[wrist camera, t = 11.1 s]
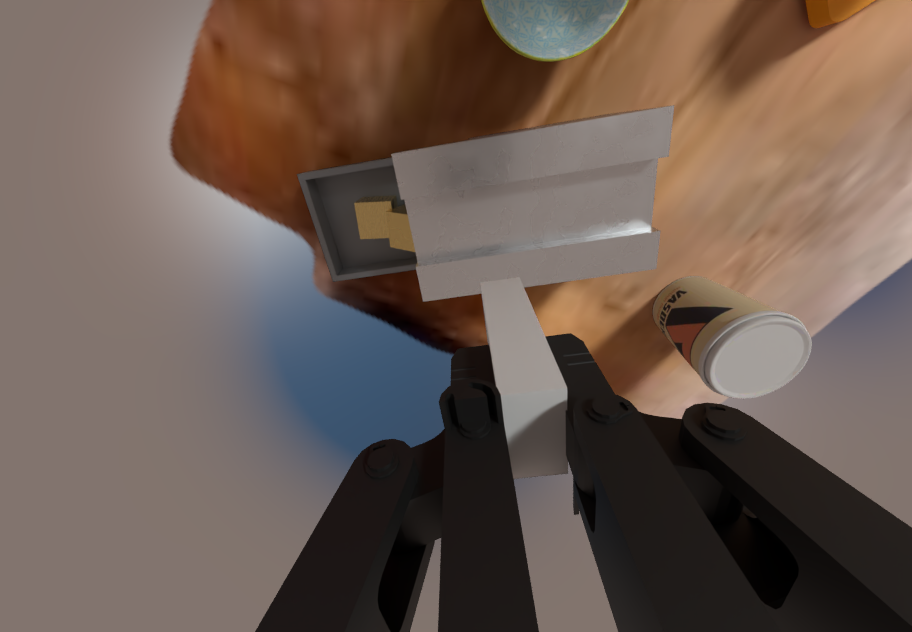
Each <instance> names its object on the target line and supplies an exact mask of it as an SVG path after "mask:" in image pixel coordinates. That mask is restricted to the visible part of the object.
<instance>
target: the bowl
mask: <svg viewBox="0 0 912 632" xmlns="http://www.w3.org/2000/svg"><path fill="white" fill-rule="evenodd" d="M628 1H629V0H481V2H482V5H483V8H484V11H485V14H486V16H487V18H488V20H489V22H490V24H491V26H492V28H493V29H494V31H495V32H496V34H497V35H498V36H499V37H500V39H501V40H502V41H503V42H504V43H505V44H506V45H507V46H508V47H509V48H511V49H512V50H513V51H515V52H516V53H518V54H520V55H522V56H524V57H527V58H530V59H533V60H537V61H548V62H552V61H560V60H565V59H569V58H572V57H575V56H577V55H579V54H581V53H583V52H585V51H587V50H588V49H590V48H591V47H592V46H594V45H595V44H596V43H598V42H599V41H600V40H601V39H602V38H603V37H604V36H605V35H606V34H607V33H608V32H609V31H610V29H611V28H612V27H613V26H614V24H615V23H616V22H617V20H618V19H619V17H620V16H621V14H622V13H623V11H624V9H625V8H626V6H627V4H628Z"/></svg>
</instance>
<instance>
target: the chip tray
mask: <svg viewBox="0 0 912 632" xmlns="http://www.w3.org/2000/svg"><path fill="white" fill-rule="evenodd" d="M297 176H298V179H299V182H300V185H301V188H302V191H303V194H304V197H305V200H306V203H307V206H308V209H309V212H310V215H311V218H312V221H313V224H314V227H315V229H316V232H317V235H318V238H319V241H320V244H321V247H322V250H323V253H324V256H325V259H326V262H327V265H328V268H329V271H330V274H331V277H332V280H333V282H335V281H342V280H349V279H355V278H362V277H369V276H376V275H382V274H389V273H396V272H403V271H409V270H416V264H417V257H416V252H412V251H407V250H402V249H397V248H392V247H390V241H389V238H377V239H360V235H359V229H358V223H357V217H356V211H355V205H354V203H355V202H356V201H358V200H359V199H361V198H362V197H375V196H396V197H397V206H398V207H399V206H401V205H404V204H405V201H404V199H403V200H401V197H400V193H399V188H398V183H397V179H396V174H395V169H394V165H393V160H392V157H390V158H384V159H378V160H372V161H366V162H361V163H355V164H349V165H343V166H337V167H331V168H326V169H320V170H314V171H308V172H304V173H300V174H297Z"/></svg>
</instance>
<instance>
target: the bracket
mask: <svg viewBox="0 0 912 632" xmlns="http://www.w3.org/2000/svg"><path fill="white" fill-rule="evenodd" d="M805 1H806V7H807V13H808V19H809V23H810V25H811V26H812V27H813V28H820V27H823V26H827V25H830V24H834V23H837V22H841V21H843V20H845V19H847V18H848V17H850V16H851V15H853V14H855V13H856V12H858V11H859V10H861V9H862V8H864V7H866V6H867V5H869V4H870V3H872V2H874V1H875V0H805Z"/></svg>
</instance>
